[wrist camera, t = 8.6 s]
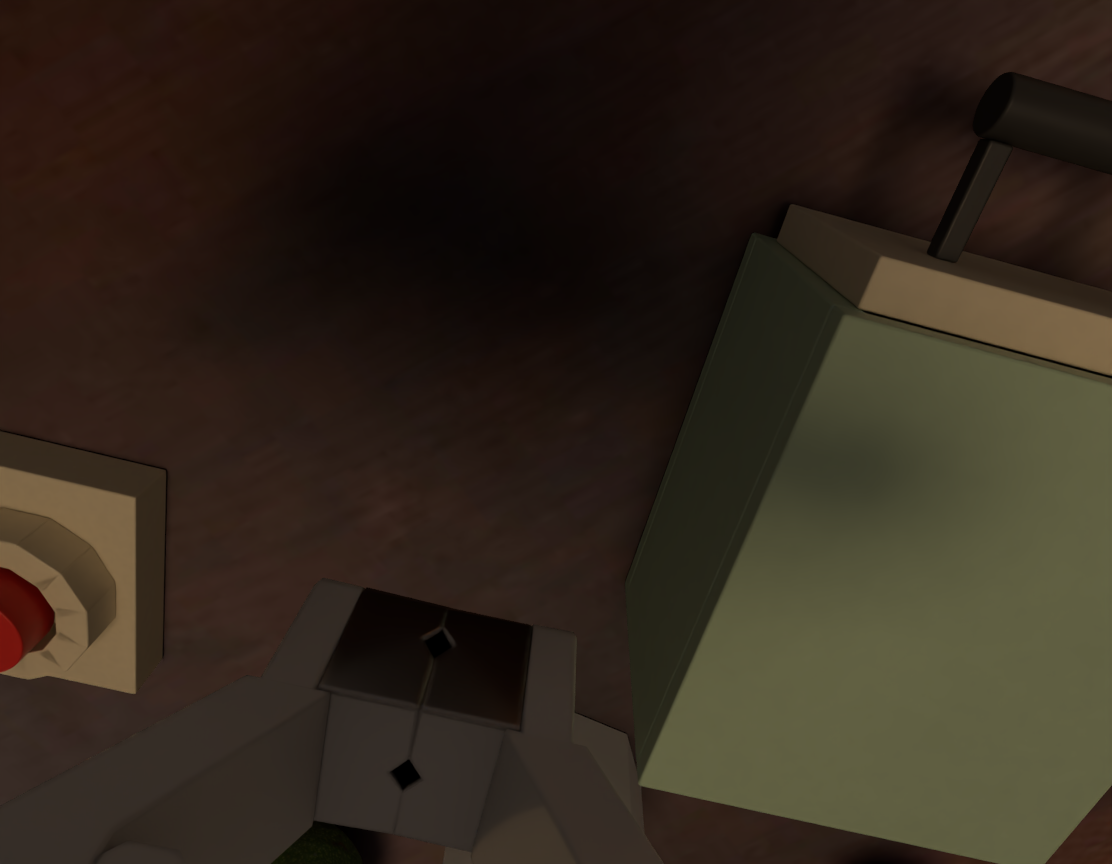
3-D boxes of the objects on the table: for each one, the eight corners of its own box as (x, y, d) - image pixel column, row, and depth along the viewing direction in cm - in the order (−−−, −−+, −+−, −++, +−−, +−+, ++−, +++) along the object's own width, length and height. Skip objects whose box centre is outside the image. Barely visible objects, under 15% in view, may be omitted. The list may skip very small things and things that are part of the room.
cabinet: (751, 231, 24) (844, 313, 15) (1108, 328, 24) (1392, 459, 16) (624, 583, 30) (637, 786, 21) (911, 651, 31) (1038, 873, 22)
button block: (-42, 420, 28) (-136, 469, 24) (167, 469, 28) (105, 524, 25) (-18, 618, 32) (-95, 685, 29) (163, 658, 33) (109, 729, 29)
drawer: (846, 53, 21) (979, 34, 13) (1213, 160, 21) (1520, 195, 14) (656, 555, 28) (678, 710, 21) (933, 620, 29) (1043, 793, 22)
